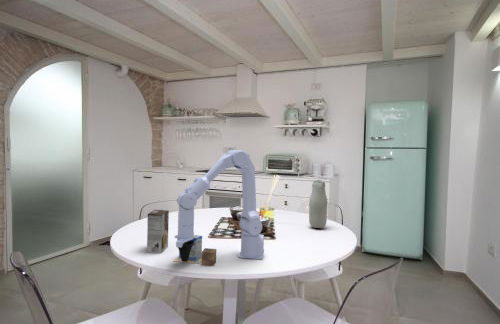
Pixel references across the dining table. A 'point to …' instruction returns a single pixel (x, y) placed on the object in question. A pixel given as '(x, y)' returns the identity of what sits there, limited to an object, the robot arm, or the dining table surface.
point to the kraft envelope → (188, 260)
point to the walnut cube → (208, 257)
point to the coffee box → (157, 231)
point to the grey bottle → (318, 205)
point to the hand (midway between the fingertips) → (184, 260)
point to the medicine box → (196, 248)
